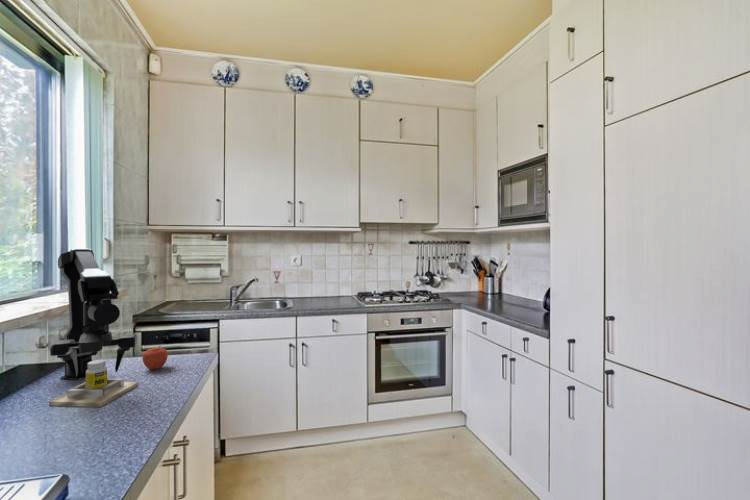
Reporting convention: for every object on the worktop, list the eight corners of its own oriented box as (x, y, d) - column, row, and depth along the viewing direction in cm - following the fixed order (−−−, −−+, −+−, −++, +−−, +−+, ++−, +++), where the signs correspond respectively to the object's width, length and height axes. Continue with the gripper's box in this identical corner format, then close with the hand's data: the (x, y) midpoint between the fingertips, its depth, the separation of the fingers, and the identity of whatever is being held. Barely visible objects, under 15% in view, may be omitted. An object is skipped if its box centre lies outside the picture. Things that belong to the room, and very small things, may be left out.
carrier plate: (49, 405, 94) (49, 394, 94) (93, 384, 108) (93, 374, 108) (100, 406, 93) (100, 395, 93) (138, 385, 107) (138, 375, 107)
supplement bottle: (95, 395, 98) (95, 365, 98) (81, 393, 99) (81, 364, 99) (111, 388, 103) (111, 359, 102) (97, 387, 103) (97, 358, 103)
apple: (148, 365, 125) (148, 343, 124) (171, 364, 126) (171, 342, 126) (138, 373, 117) (138, 349, 117) (162, 372, 119) (162, 348, 118)
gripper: (42, 329, 89) (42, 390, 89) (132, 322, 97) (132, 378, 98) (57, 320, 98) (57, 375, 99) (137, 314, 107) (137, 365, 108)
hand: (96, 374), depth 100 cm, fingers open, 9 cm apart
